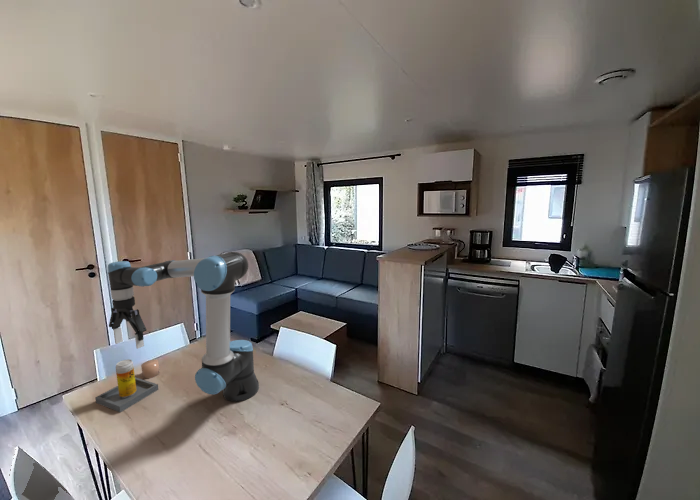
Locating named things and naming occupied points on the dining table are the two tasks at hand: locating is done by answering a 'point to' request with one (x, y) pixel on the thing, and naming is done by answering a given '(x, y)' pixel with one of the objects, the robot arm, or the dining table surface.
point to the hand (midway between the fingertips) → (129, 344)
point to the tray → (120, 404)
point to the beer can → (125, 378)
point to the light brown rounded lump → (150, 369)
